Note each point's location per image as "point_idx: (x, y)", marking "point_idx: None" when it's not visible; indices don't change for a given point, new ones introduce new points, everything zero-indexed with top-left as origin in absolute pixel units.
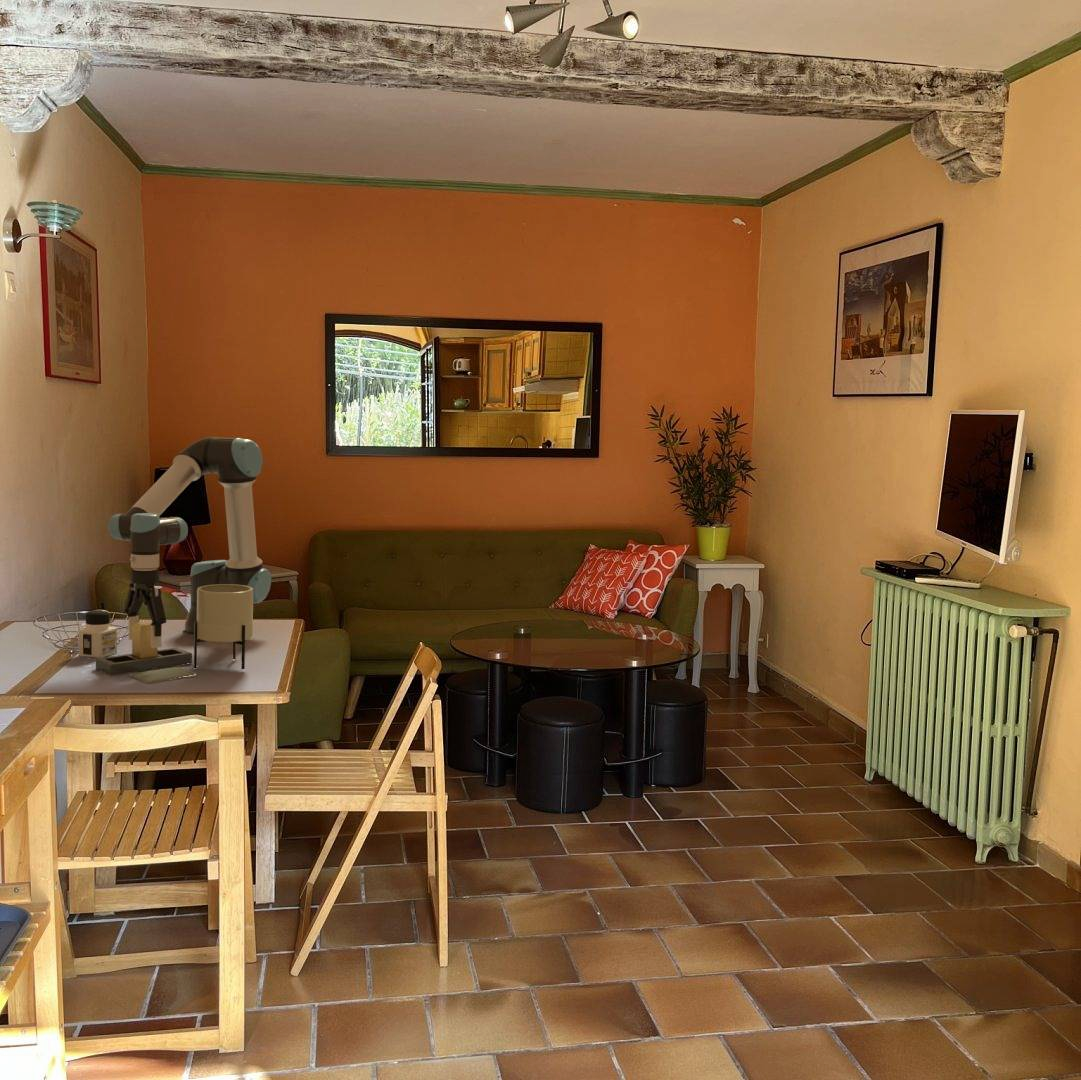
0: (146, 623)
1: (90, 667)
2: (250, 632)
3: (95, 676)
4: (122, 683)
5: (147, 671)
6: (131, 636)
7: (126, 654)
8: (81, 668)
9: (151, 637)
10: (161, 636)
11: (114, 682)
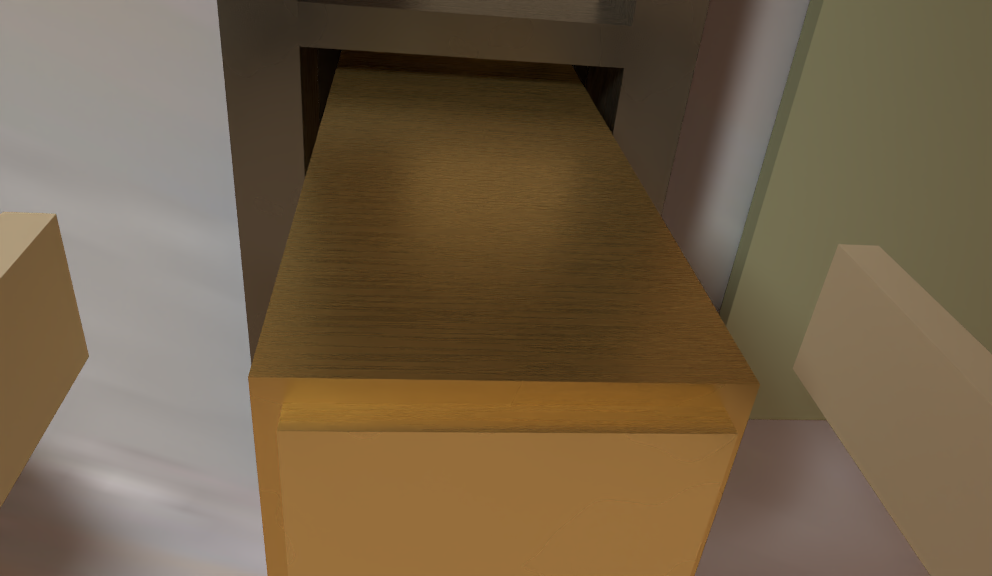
0: (534, 565)
1: (196, 503)
2: None
3: None
4: (822, 516)
5: (745, 287)
6: (62, 365)
7: (251, 325)
8: (195, 553)
9: (888, 484)
10: (984, 347)
11: (755, 539)
